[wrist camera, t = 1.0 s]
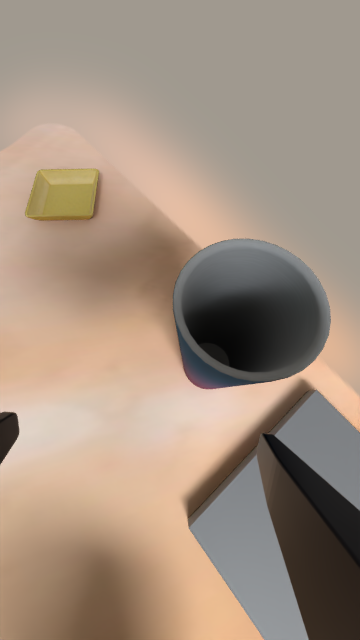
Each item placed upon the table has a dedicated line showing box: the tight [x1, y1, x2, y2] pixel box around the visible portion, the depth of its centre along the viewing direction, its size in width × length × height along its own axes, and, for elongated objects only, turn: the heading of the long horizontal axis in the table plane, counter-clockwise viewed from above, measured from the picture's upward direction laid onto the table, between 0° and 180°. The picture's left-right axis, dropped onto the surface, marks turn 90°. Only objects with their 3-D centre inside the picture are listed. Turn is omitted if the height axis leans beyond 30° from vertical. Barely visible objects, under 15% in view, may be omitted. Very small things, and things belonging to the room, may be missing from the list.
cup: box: [173, 239, 331, 389], centre depth 17 cm, size 7×7×15 cm
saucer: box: [25, 169, 99, 220], centre depth 31 cm, size 9×9×2 cm
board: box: [188, 390, 360, 640], centre depth 18 cm, size 20×16×2 cm
